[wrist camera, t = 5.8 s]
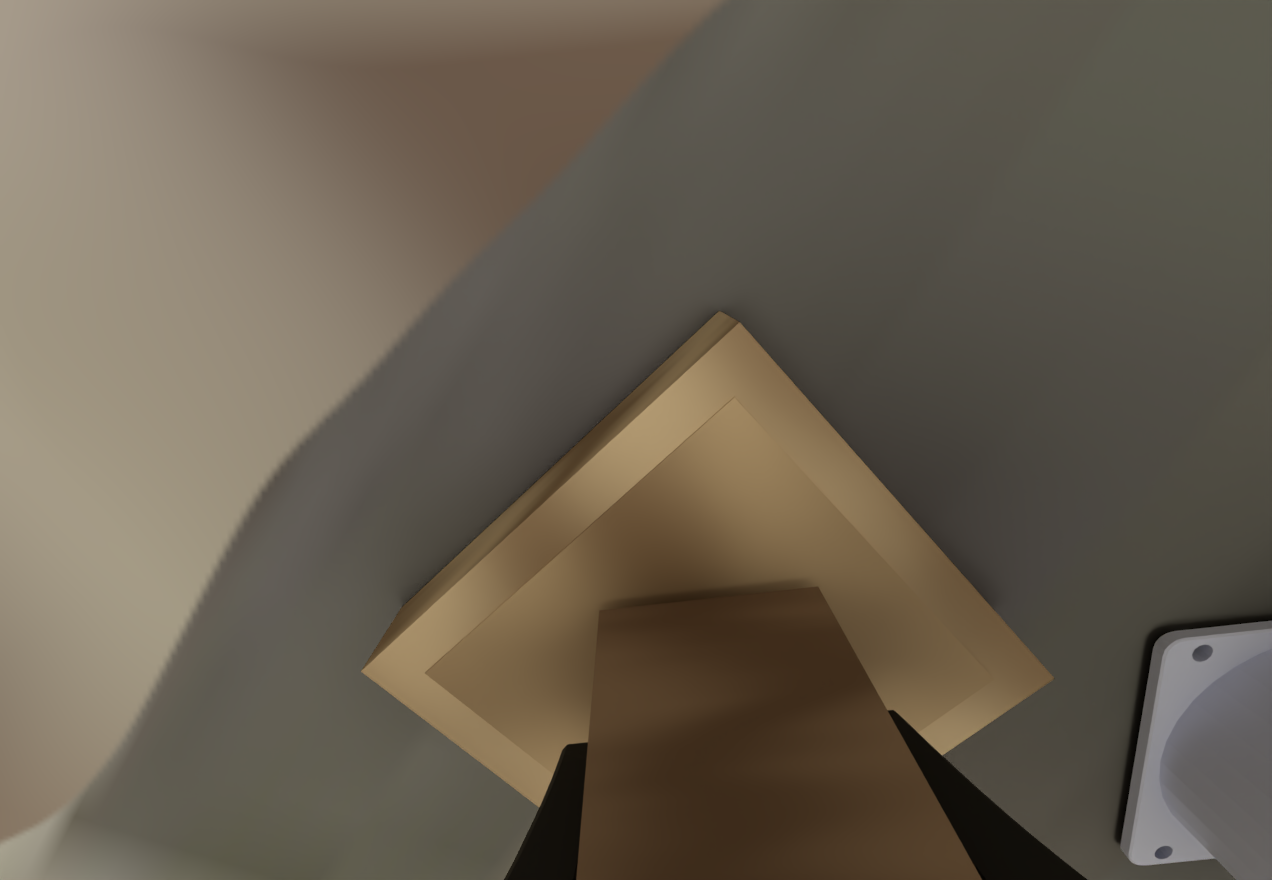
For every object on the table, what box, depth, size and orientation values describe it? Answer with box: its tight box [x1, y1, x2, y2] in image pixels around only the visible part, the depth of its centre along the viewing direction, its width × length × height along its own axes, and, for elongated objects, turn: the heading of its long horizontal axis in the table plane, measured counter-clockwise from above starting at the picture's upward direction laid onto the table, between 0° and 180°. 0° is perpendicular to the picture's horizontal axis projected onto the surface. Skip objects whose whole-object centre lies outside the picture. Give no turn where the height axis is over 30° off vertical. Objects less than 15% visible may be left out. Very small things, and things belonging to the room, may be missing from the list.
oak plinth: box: [361, 311, 1055, 807], centre depth 15 cm, size 11×11×3 cm
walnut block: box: [576, 586, 982, 880], centre depth 10 cm, size 4×4×6 cm
